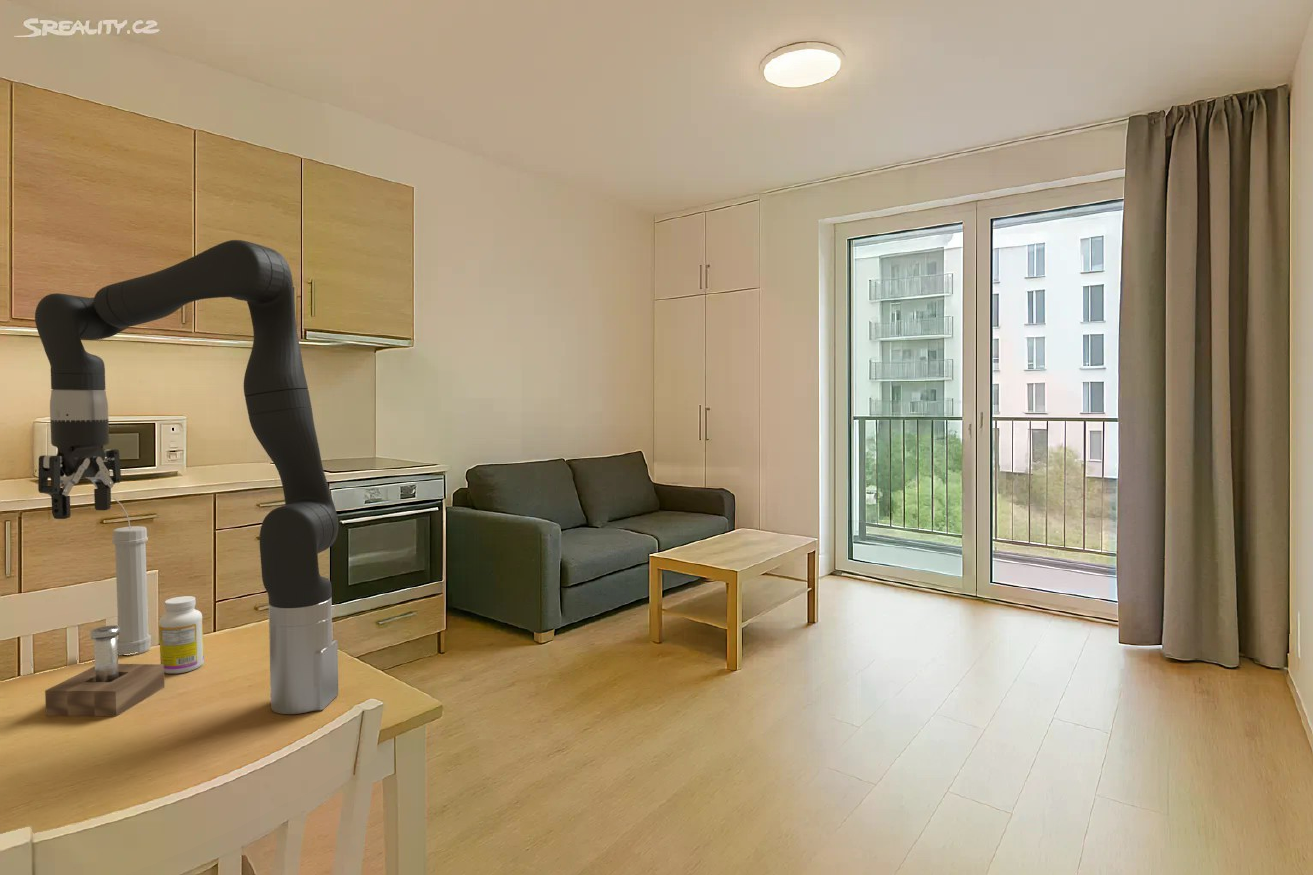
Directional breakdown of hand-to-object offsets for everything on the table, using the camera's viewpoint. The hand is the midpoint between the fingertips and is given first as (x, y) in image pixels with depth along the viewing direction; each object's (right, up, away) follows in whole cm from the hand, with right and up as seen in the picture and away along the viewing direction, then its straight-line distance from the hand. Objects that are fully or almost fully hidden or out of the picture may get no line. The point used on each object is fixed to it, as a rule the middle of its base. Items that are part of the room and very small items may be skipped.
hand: (83, 514), depth 119 cm
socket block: (+6, -31, -2) cm, 31 cm away
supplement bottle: (+9, -30, +12) cm, 33 cm away
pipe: (-6, -29, +20) cm, 36 cm away
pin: (+6, -31, -2) cm, 31 cm away
